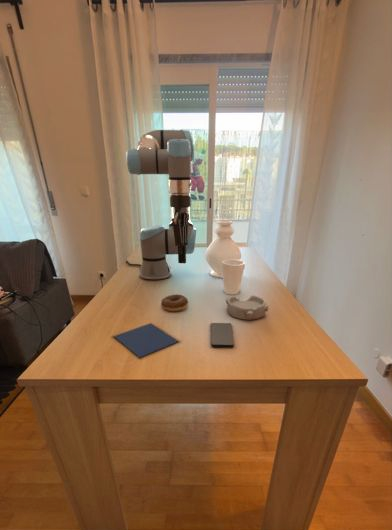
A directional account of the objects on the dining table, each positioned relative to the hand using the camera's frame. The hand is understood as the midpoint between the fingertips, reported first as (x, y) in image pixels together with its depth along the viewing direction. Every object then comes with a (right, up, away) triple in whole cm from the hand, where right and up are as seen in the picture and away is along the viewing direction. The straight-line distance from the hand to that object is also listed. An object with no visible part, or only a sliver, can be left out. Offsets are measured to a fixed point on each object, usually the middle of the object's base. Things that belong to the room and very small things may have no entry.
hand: (182, 262), depth 111 cm
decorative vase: (+19, +5, +36) cm, 41 cm away
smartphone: (+14, -30, -19) cm, 38 cm away
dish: (+24, -21, -5) cm, 32 cm away
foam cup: (+21, -9, +14) cm, 27 cm away
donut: (-3, -18, 0) cm, 18 cm away
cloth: (-11, -31, -21) cm, 39 cm away
